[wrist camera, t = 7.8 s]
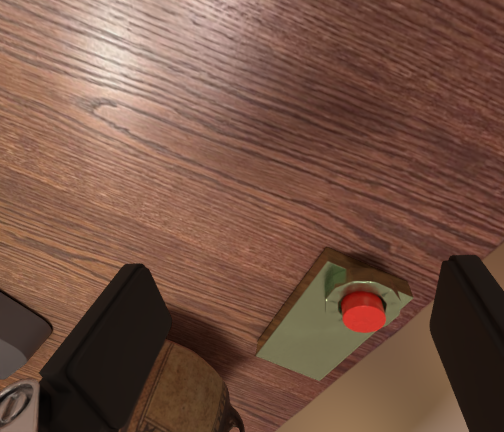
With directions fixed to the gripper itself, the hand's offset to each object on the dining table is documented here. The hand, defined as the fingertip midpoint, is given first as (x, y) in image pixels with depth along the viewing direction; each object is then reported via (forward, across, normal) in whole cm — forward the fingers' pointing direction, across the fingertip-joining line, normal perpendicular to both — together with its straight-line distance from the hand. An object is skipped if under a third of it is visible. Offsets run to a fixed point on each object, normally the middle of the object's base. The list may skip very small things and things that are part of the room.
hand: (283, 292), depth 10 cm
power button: (+13, -4, +15) cm, 20 cm away
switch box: (+17, -1, +21) cm, 27 cm away
